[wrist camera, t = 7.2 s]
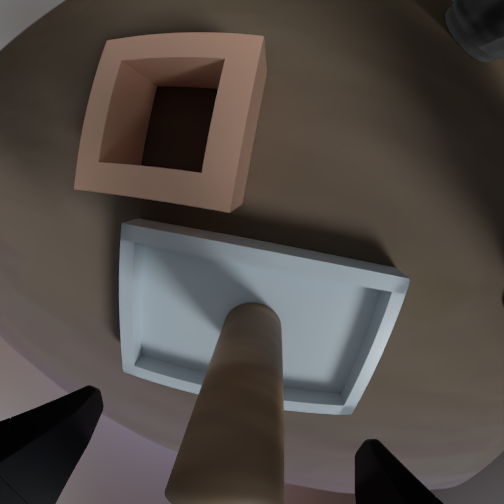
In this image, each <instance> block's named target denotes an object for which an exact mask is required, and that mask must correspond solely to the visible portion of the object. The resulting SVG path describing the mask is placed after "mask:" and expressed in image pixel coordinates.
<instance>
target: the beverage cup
mask: <svg viewBox="0 0 504 504" xmlns="http://www.w3.org/2000/svg"><path fill="white" fill-rule="evenodd" d="M445 22H446V24H447V27H448V29H449V31H450V33H451V35H452V36H453V38H454V39H455V40H456V41H457V43H458V44H459V45H460V46H461V47H462V48H463V49H464V50H465V51H466V52H467V53H468V54H469V55H471V56H472V57H473V58H474V59H477V60H479V61H481V62H489V61H491V60H497V59H504V0H454V1H453V3H452V5H451V6H450V8H449V9H447V11H446V13H445Z"/></svg>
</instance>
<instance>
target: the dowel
mask: <svg viewBox="0 0 504 504" xmlns="http://www.w3.org/2000/svg"><path fill="white" fill-rule="evenodd" d="M165 496H166V498H167V499H168V500H169V501H170V502H171V503H172V504H284V397H283V357H282V328H281V322H280V319H279V317H278V315H277V314H276V313H275V312H274V311H273V310H272V309H271V308H269V307H268V306H266V305H263V304H260V303H255V302H248V303H243V304H240V305H238V306H236V307H234V308H233V309H232V310H231V311H230V312H229V313H228V315H227V316H226V319H225V321H224V324H223V327H222V330H221V333H220V335H219V338H218V341H217V344H216V347H215V350H214V352H213V355H212V358H211V361H210V364H209V367H208V369H207V372H206V375H205V378H204V381H203V384H202V386H201V389H200V392H199V395H198V398H197V401H196V403H195V406H194V409H193V412H192V415H191V418H190V421H189V423H188V426H187V429H186V432H185V435H184V438H183V441H182V443H181V446H180V449H179V452H178V455H177V458H176V461H175V464H174V466H173V469H172V472H171V475H170V478H169V481H168V484H167V486H166V489H165Z"/></svg>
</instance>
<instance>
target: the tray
mask: <svg viewBox="0 0 504 504" xmlns="http://www.w3.org/2000/svg"><path fill="white" fill-rule="evenodd" d="M409 282H410V278H409V277H408V276H406V275H405V274H404V273H402V272H401V271H400V270H399V269H397V268H394V267H390V266H385V265H380V264H375V263H370V262H366V261H361V260H356V259H351V258H346V257H341V256H336V255H331V254H326V253H321V252H316V251H311V250H306V249H301V248H296V247H291V246H286V245H280V244H275V243H270V242H265V241H260V240H254V239H249V238H244V237H239V236H233V235H228V234H223V233H217V232H212V231H206V230H201V229H196V228H190V227H185V226H179V225H174V224H168V223H163V222H157V221H151V220H146V219H140V218H137V219H134V220H130V221H127V222H124V223H121V238H120V259H119V316H120V337H121V351H122V363H123V372H126V373H128V374H131V375H134V376H137V377H140V378H143V379H146V380H149V381H153V382H156V383H159V384H162V385H166V386H169V387H173V388H176V389H180V390H184V391H187V392H191V393H195V394H199V392H200V389H201V386H202V384H203V381H204V378H205V375H206V372H207V369H208V367H209V364H210V361H211V358H212V355H213V352H214V350H215V347H216V344H217V341H218V338H219V335H220V333H221V330H222V327H223V324H224V321H225V319H226V316H227V315H228V313H229V312H230V311H231V310H232V309H233V308H234V307H236V306H238V305H240V304H243V303H248V302H255V303H260V304H263V305H266V306H268V307H269V308H271V309H272V310H273V311H274V312H275V313H276V314H277V315H278V317H279V319H280V322H281V328H282V357H283V397H284V410H289V411H298V412H309V413H322V414H339V415H351V414H352V412H353V411H354V409H355V407H356V405H357V403H358V402H359V400H360V398H361V396H362V394H363V392H364V390H365V388H366V386H367V384H368V382H369V380H370V378H371V376H372V374H373V372H374V370H375V368H376V366H377V364H378V362H379V360H380V357H381V355H382V353H383V351H384V348H385V346H386V344H387V341H388V339H389V337H390V334H391V332H392V329H393V327H394V324H395V322H396V319H397V316H398V314H399V311H400V308H401V306H402V303H403V300H404V297H405V294H406V291H407V288H408V285H409Z"/></svg>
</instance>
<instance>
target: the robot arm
mask: <svg viewBox="0 0 504 504" xmlns="http://www.w3.org/2000/svg"><path fill="white" fill-rule="evenodd" d="M102 411H103V401H102V396H101V392H100V390H99V389H98V388H95V387H93V386H90V385H89V386H86V387H84V388H81V389H79V390H77V391H74V392H72V393H70V394H68V395H65V396H63V397H61V398H58V399H56V400H53V401H51V402H49V403H46V404H44V405H41V406H39V407H37V408H34V409H32V410H29V411H27V412H24V413H21V414H19V415H16V416H14V417H11V419H10V418H8V419H6V420H3V421H0V504H55V503H56V502H57V500H58V498H59V496H60V494H61V492H62V490H63V488H64V487H65V485H66V483H67V481H68V479H69V477H70V475H71V474H72V472H73V470H74V468H75V466H76V465H77V463H78V461H79V459H80V458H81V456H82V454H83V452H84V451H85V449H86V447H87V445H88V443H89V441H90V439H91V437H92V434H93V432H94V430H95V427H96V425H97V422H98V420H99V418H100V415H101V413H102ZM355 498H356V504H443V503H442V502H441V501H440V500H439V499H438V498H437V497H436V498H435V495H434V494H432V492H430V491H429V490H428V489H427V488H426V487H425V486H424V485H423V484H422V483H421V482H420V481H419V480H418V479H417V478H416V477H415V476H414V475H413V474H412V473H411V472H410V471H409V470H408V469H407V468H406V467H405V466H404V465H403V464H402V463H401V462H400V461H399V460H398V459H397V458H396V457H395V456H394V455H393V454H392V453H391V452H390V451H389V450H388V449H387V448H386V447H385V446H384V445H383V444H382V443H381V442H380V441H379V440H377V439H367V440H365V441H364V442H363V444H362V445H361V447H360V448H359V449H358V451H357V452H356V454H355Z"/></svg>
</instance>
